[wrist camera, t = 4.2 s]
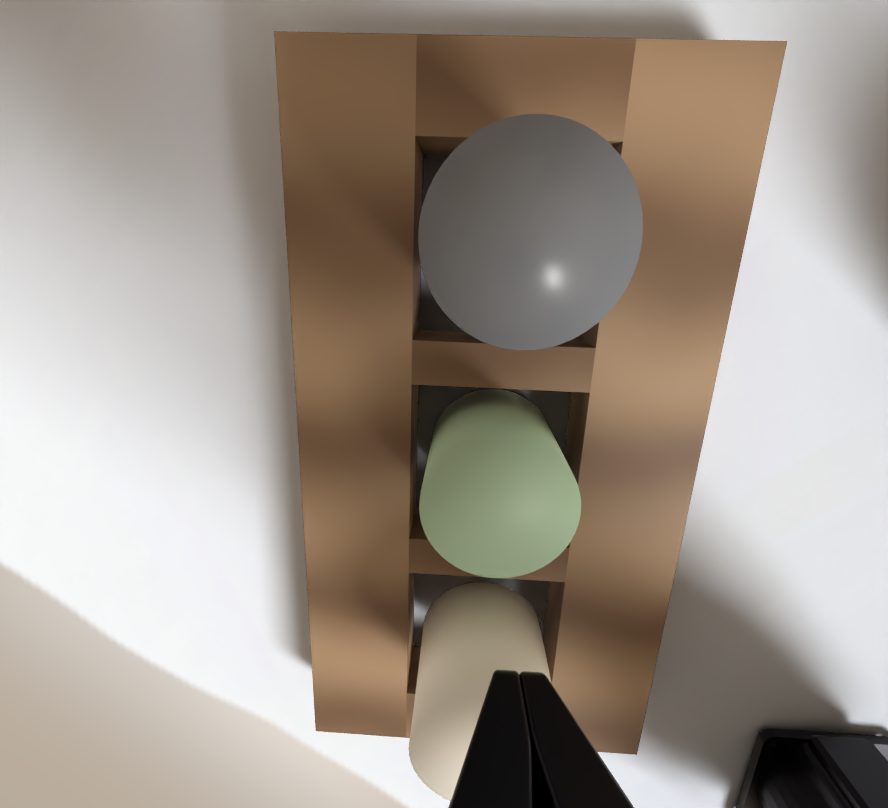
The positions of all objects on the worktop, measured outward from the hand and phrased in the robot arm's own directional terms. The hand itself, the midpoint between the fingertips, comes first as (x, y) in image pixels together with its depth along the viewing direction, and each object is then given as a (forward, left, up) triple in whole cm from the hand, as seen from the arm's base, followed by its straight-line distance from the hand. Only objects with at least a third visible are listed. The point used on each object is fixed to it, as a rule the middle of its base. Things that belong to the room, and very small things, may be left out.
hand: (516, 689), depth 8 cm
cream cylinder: (-8, 0, -10) cm, 12 cm away
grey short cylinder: (+7, 0, -10) cm, 12 cm away
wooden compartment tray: (0, 0, -12) cm, 12 cm away
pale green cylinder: (0, 0, -11) cm, 11 cm away
